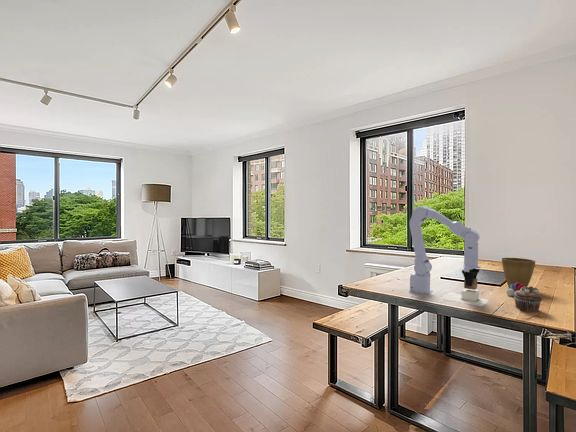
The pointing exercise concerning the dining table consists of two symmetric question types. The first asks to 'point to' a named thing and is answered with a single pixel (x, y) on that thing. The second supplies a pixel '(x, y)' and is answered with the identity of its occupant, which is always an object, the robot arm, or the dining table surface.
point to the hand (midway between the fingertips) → (470, 284)
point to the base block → (470, 294)
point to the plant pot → (518, 270)
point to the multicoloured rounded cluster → (514, 289)
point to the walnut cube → (474, 284)
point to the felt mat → (458, 299)
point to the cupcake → (528, 299)
